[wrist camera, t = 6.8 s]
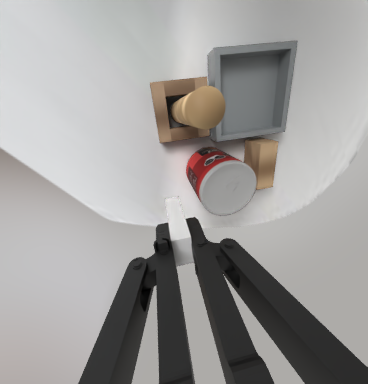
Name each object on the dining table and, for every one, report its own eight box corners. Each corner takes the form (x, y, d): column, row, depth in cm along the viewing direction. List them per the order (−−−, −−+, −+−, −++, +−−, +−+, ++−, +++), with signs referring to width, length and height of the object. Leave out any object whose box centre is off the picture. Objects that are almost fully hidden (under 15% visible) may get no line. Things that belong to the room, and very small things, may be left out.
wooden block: (245, 140, 31) (260, 144, 26) (260, 137, 31) (278, 141, 27) (243, 180, 34) (257, 189, 30) (257, 177, 35) (272, 187, 30)
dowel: (168, 101, 26) (185, 88, 13) (188, 99, 27) (225, 83, 13) (171, 123, 28) (189, 131, 14) (190, 121, 28) (225, 126, 15)
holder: (150, 85, 25) (149, 82, 23) (202, 80, 26) (206, 76, 24) (159, 140, 28) (160, 142, 26) (205, 134, 29) (209, 135, 27)
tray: (207, 55, 25) (214, 47, 22) (282, 48, 26) (297, 40, 23) (210, 139, 30) (216, 141, 27) (273, 130, 31) (284, 131, 28)
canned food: (232, 157, 32) (268, 176, 22) (210, 192, 34) (234, 223, 24) (199, 138, 29) (223, 149, 20) (178, 177, 32) (189, 205, 22)
